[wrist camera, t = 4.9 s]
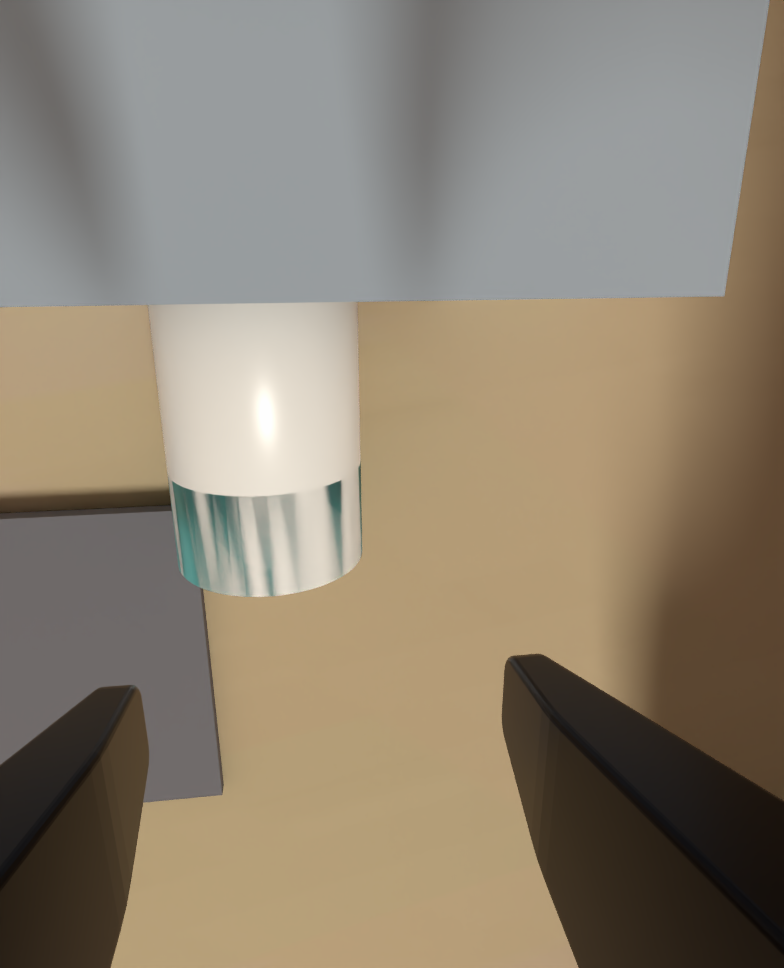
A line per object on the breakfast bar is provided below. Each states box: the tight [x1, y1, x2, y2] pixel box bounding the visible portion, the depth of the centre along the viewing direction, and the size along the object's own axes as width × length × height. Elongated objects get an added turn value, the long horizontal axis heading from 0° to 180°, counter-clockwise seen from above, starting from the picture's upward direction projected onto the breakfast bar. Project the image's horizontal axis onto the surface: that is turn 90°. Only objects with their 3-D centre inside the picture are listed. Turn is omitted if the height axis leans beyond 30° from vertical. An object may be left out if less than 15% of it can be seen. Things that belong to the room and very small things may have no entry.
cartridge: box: [148, 302, 362, 597], centre depth 15 cm, size 4×11×4 cm, turn 0°
